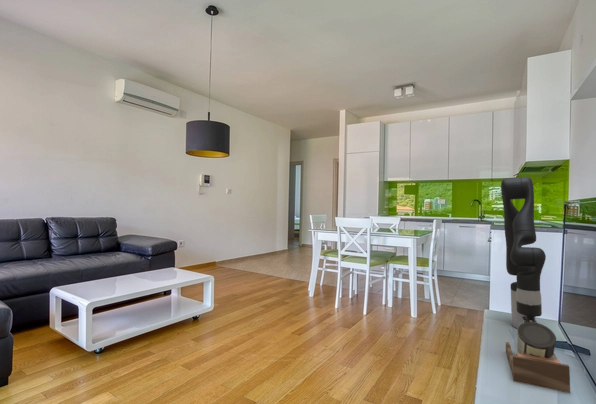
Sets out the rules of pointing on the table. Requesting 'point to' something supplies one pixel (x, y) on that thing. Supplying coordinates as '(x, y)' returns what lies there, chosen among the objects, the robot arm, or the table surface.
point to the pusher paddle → (539, 358)
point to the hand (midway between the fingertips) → (529, 347)
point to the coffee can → (535, 340)
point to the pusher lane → (539, 372)
